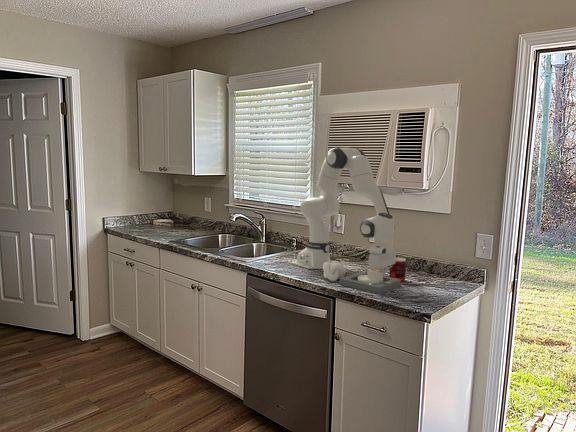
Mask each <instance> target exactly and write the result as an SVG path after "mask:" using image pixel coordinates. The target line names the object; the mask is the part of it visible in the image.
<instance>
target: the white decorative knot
mask: <svg viewBox="0 0 576 432" xmlns="http://www.w3.org/2000/svg"><path fill="white" fill-rule="evenodd" d="M322 271H323V277H324V278H325V279H327V280H329V281H331V282H335V281H337V280H340V278H343V277H346V276H345V275H346V274H347V273H346V272H347V270H346V267H345V266H344V265H343V264H342V263H340V262H339V261H338V260H330V263H329V262H325V263H324V264H323V269H322Z"/></svg>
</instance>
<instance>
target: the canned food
mask: <svg viewBox="0 0 576 432" xmlns="http://www.w3.org/2000/svg"><path fill="white" fill-rule="evenodd" d="M406 267H407V259H406V258H404V257H397V256H396V262H395V264H393V265H390V266H389V272H388V273H389V274H388V277H391V278H396V279H400V280H401V283H403V282H405V281H406V271H407V269H406Z"/></svg>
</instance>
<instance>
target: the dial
mask: <svg viewBox="0 0 576 432" xmlns="http://www.w3.org/2000/svg"><path fill="white" fill-rule="evenodd" d="M367 273H368V275H361V276H358V281H360V282H364V283H371V284H373V285H378V284H380V283H383V272H379V270H371V269H370V268H369V269H367Z"/></svg>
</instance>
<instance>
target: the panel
mask: <svg viewBox="0 0 576 432" xmlns="http://www.w3.org/2000/svg"><path fill="white" fill-rule="evenodd" d="M361 275H368V271H359V272H356V273H352V274H350V275H346V276H344V277H343V278H340V279H339V283H338V284H339V285H340V286H343V287H349V288H351V289H356V288H357V290H360V289H361V291H364V290H365V291H364V292H369V293H373V294H376V295H382V294H384V293H386V292H388V291H391V290H393V289H395V288H398V287H400V286H401V283H402V282H401V280H400V279H396V278H391V277H389V276H386V275H385V276H383V283H380V284H378V285H373V284H371V283H364V282H360V281H358V276H361ZM381 293H382V294H381Z"/></svg>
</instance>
